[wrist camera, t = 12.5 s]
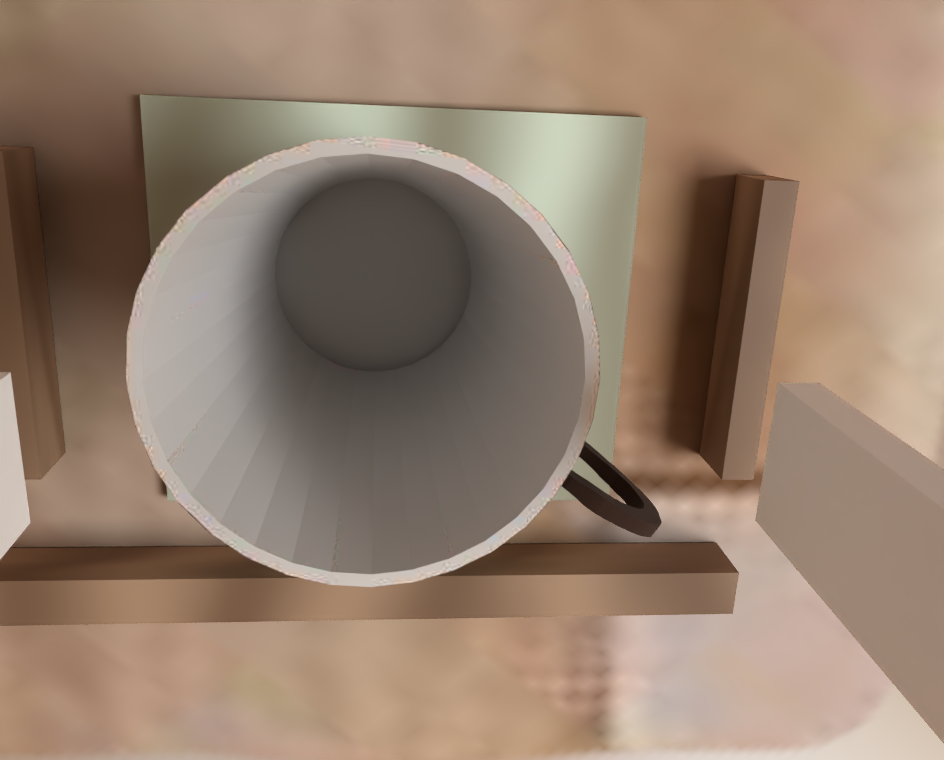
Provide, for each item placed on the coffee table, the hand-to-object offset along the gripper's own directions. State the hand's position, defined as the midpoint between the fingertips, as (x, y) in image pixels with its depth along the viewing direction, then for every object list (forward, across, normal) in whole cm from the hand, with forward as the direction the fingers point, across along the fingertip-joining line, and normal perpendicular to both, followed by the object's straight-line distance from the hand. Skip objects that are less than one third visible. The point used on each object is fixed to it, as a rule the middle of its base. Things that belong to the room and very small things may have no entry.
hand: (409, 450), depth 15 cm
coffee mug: (+11, 0, -1) cm, 11 cm away
